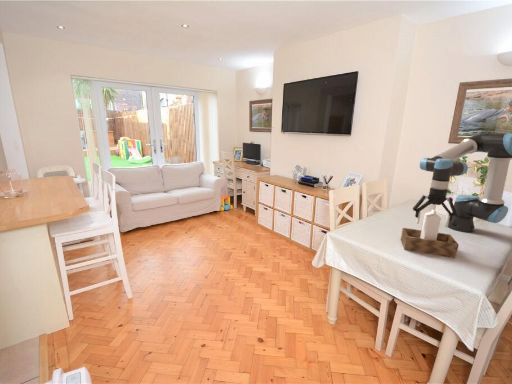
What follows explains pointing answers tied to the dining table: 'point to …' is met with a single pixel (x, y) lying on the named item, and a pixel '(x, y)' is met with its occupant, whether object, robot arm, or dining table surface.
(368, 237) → the dining table surface
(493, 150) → the robot arm
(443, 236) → the crate
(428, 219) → the milk
